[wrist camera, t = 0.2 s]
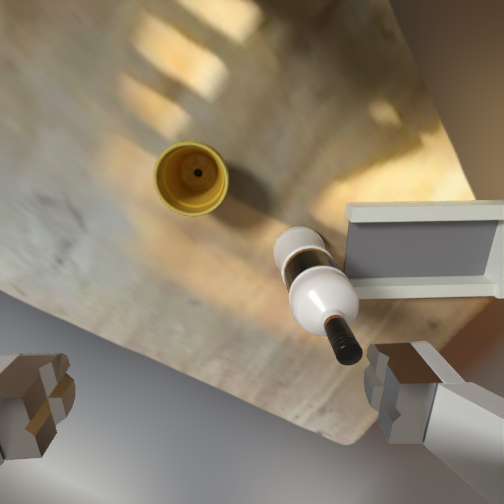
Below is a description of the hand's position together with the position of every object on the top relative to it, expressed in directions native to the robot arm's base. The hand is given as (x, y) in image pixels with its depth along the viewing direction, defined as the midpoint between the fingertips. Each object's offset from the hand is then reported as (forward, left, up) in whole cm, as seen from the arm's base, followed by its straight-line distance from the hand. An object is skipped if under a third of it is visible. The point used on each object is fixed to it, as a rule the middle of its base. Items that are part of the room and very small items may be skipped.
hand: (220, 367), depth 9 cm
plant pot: (0, -6, -48) cm, 48 cm away
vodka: (+14, +11, -48) cm, 51 cm away
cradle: (+14, +34, -48) cm, 60 cm away
